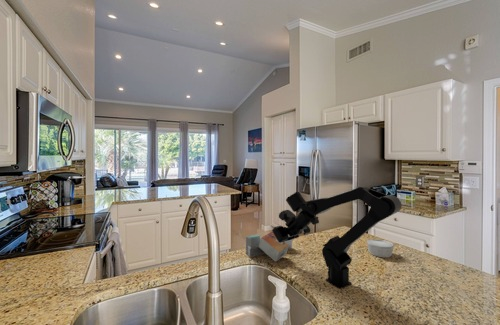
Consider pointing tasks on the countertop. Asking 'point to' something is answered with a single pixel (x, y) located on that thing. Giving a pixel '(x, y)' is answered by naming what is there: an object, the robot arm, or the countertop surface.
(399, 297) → the countertop surface
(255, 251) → the rail
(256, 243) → the block
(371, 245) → the ramekin
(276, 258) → the small box
